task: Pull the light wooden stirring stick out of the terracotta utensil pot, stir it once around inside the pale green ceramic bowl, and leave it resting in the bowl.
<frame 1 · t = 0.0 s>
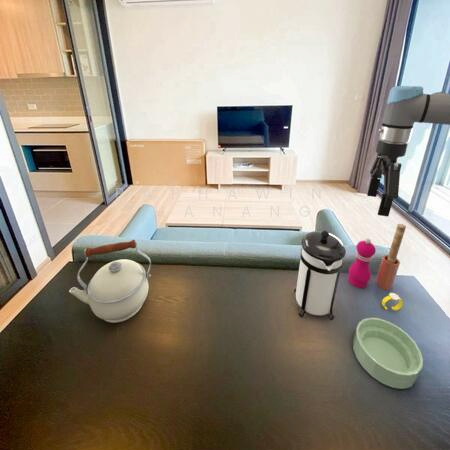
hand: (376, 205, 80), 35 cm above the table, tool pointing down, fingers open, 13 cm apart
kettle: (117, 306, 84), on the table
utensil pot: (383, 285, 92), on the table
stirring stick: (383, 284, 92), resting on utensil pot
coffee press: (310, 302, 86), on the table
watch: (390, 309, 83), on the table
bowl: (382, 357, 68), on the table
pepper mill: (357, 283, 94), on the table
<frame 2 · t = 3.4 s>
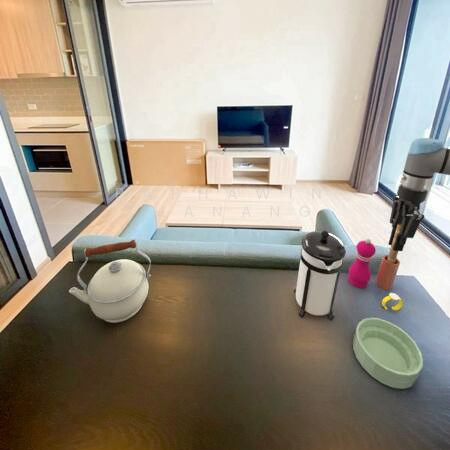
hand: (395, 247, 86), 18 cm above the table, tool pointing down, fingers closed on stirring stick, 2 cm apart
stirring stick: (383, 284, 92), point 1 cm above the table, touching gripper, utensil pot
everything else where it was.
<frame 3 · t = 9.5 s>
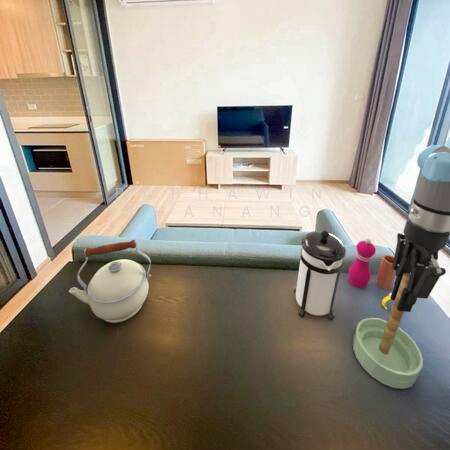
hand: (400, 304, 61), 20 cm above the table, tool pointing down, fingers closed on stirring stick, 2 cm apart
stirring stick: (383, 350, 67), point 3 cm above the table, touching gripper
everything else where it was.
when the fingers open (18 cm above the table, at t = 15.8 s): stirring stick stays where it is, resting on bowl.
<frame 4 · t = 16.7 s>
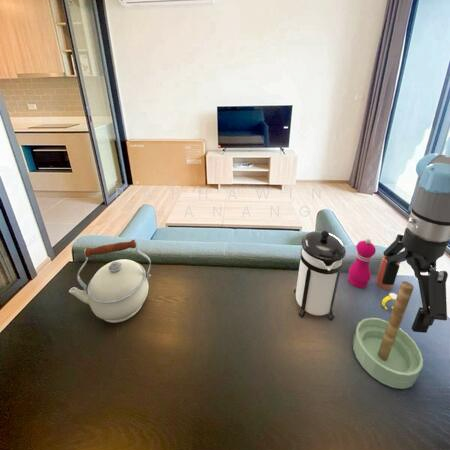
hand: (401, 304, 61), 20 cm above the table, tool pointing down, fingers open, 13 cm apart
stirring stick: (382, 356, 68), point 1 cm above the table, touching bowl
everything else where it was.
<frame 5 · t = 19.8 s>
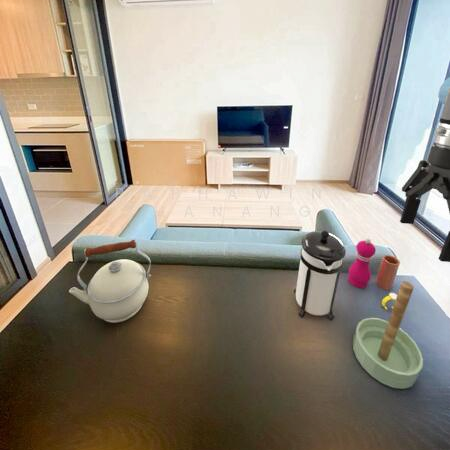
hand: (424, 239, 54), 40 cm above the table, tool pointing down, fingers open, 13 cm apart
nothing on the table moved.
at the end: stirring stick inside the target area in the bowl (0.1 cm from its centre), point 0.6 cm above the bowl's base; stirring stick moved 30.5 cm from its start; the gripper is holding nothing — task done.
